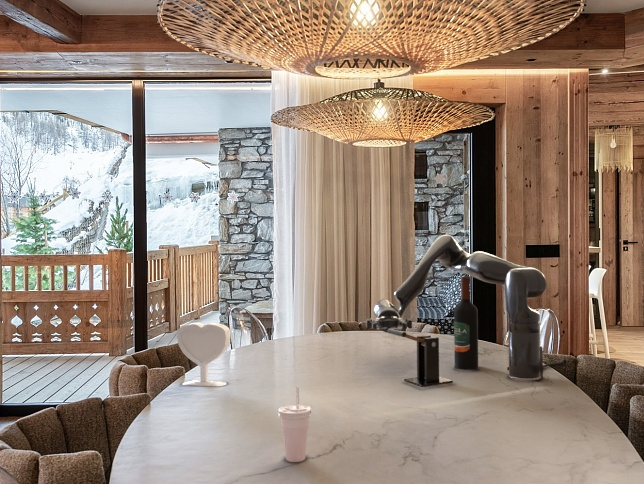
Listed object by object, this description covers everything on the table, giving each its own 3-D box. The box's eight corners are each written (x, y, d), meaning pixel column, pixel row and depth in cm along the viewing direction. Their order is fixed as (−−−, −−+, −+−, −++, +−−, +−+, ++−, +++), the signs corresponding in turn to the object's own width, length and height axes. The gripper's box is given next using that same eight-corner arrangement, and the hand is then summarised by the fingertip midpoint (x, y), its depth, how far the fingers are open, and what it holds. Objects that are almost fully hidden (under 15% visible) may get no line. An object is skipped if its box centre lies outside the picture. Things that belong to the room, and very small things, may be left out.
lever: (401, 338, 168) (403, 329, 168) (386, 334, 175) (388, 326, 175) (438, 350, 174) (440, 342, 174) (422, 346, 181) (424, 338, 181)
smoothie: (305, 466, 114) (304, 391, 114) (273, 462, 115) (272, 389, 115) (316, 454, 120) (315, 383, 120) (286, 451, 122) (285, 382, 121)
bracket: (421, 389, 170) (420, 340, 170) (404, 383, 178) (403, 336, 178) (452, 384, 176) (452, 337, 176) (434, 378, 184) (434, 333, 184)
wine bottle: (481, 371, 193) (480, 277, 193) (458, 372, 192) (457, 277, 192) (473, 366, 201) (472, 276, 200) (451, 367, 199) (450, 276, 199)
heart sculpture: (176, 384, 179) (175, 324, 179) (184, 380, 184) (183, 321, 184) (225, 386, 176) (224, 325, 176) (232, 382, 181) (231, 322, 181)
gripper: (410, 330, 199) (413, 338, 183) (367, 330, 200) (366, 339, 183) (410, 307, 199) (412, 314, 183) (366, 308, 200) (365, 314, 183)
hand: (389, 326), depth 183 cm, fingers open, 8 cm apart
